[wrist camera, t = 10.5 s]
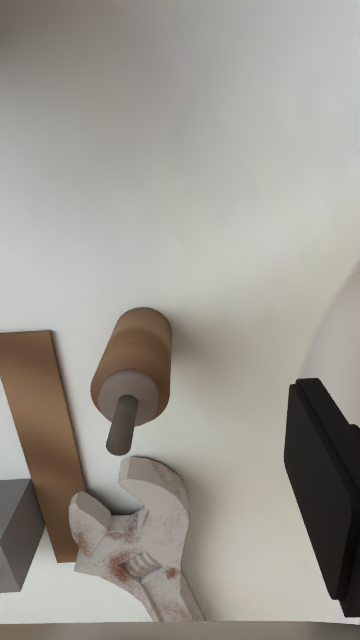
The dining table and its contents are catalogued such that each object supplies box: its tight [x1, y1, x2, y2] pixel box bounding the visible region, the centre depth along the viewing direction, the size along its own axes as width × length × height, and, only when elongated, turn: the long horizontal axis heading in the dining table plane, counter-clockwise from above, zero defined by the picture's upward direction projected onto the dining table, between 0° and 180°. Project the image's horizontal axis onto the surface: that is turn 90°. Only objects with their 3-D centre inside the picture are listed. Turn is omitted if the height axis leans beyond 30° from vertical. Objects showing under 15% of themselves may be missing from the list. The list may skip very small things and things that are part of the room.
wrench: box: [69, 457, 205, 622], centre depth 24 cm, size 8×2×30 cm
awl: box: [91, 307, 172, 456], centre depth 13 cm, size 3×3×8 cm
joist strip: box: [0, 330, 87, 563], centre depth 20 cm, size 17×3×1 cm, turn 3°
